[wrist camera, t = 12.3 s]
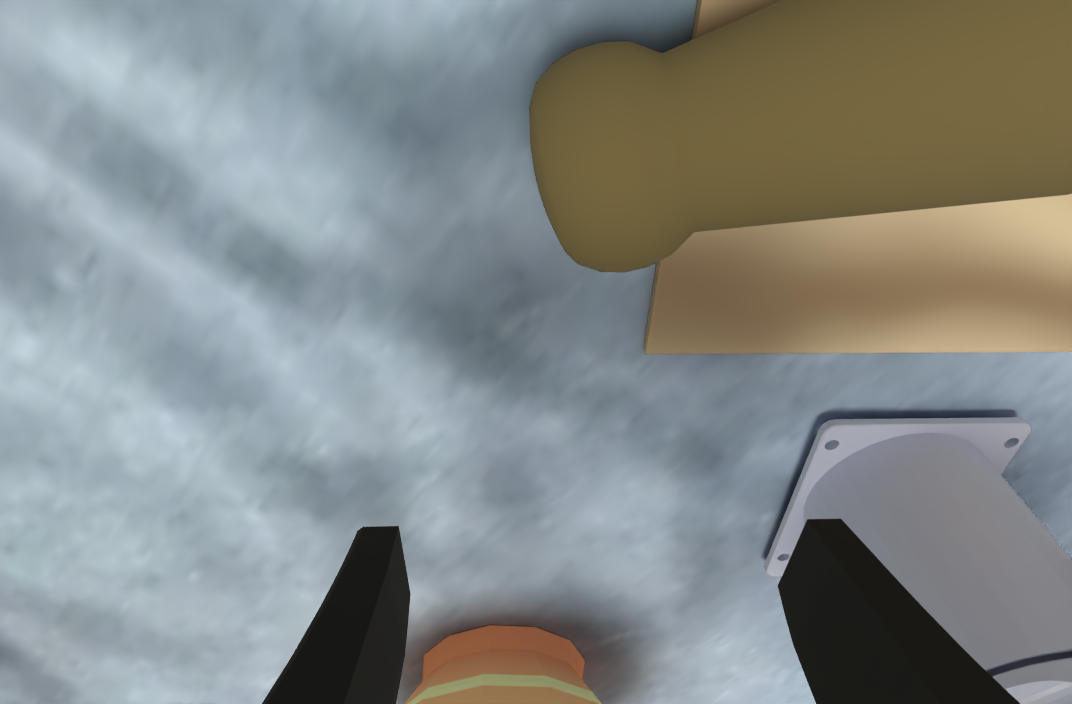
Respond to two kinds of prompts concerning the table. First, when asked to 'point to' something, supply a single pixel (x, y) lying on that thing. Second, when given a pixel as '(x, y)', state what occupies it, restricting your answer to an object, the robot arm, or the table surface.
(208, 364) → the table surface
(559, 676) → the potted cactus
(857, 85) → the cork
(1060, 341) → the mat
